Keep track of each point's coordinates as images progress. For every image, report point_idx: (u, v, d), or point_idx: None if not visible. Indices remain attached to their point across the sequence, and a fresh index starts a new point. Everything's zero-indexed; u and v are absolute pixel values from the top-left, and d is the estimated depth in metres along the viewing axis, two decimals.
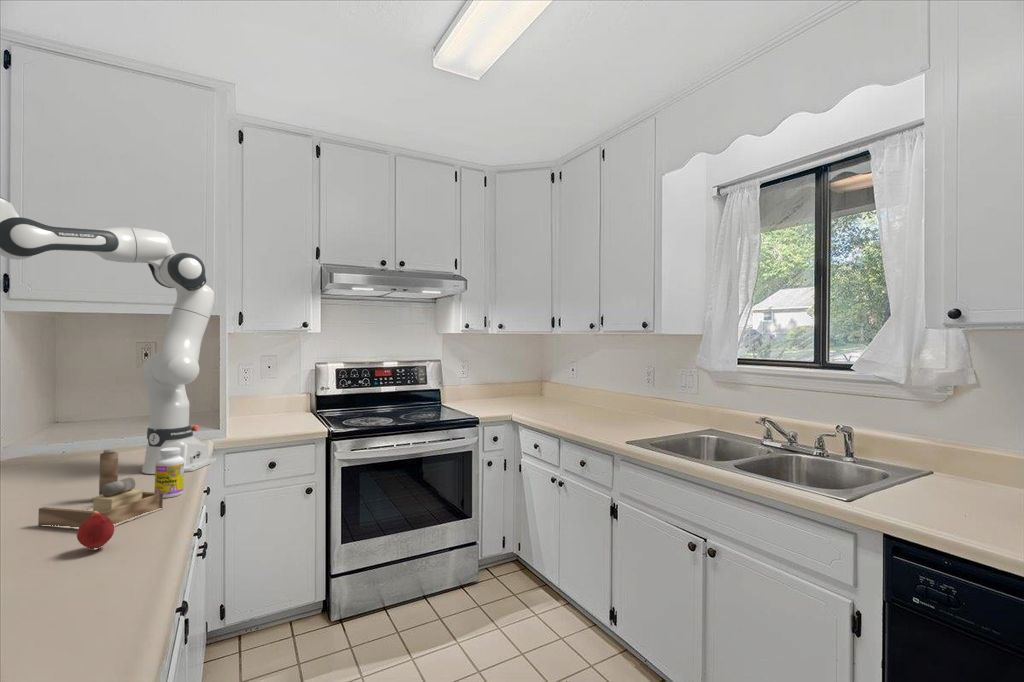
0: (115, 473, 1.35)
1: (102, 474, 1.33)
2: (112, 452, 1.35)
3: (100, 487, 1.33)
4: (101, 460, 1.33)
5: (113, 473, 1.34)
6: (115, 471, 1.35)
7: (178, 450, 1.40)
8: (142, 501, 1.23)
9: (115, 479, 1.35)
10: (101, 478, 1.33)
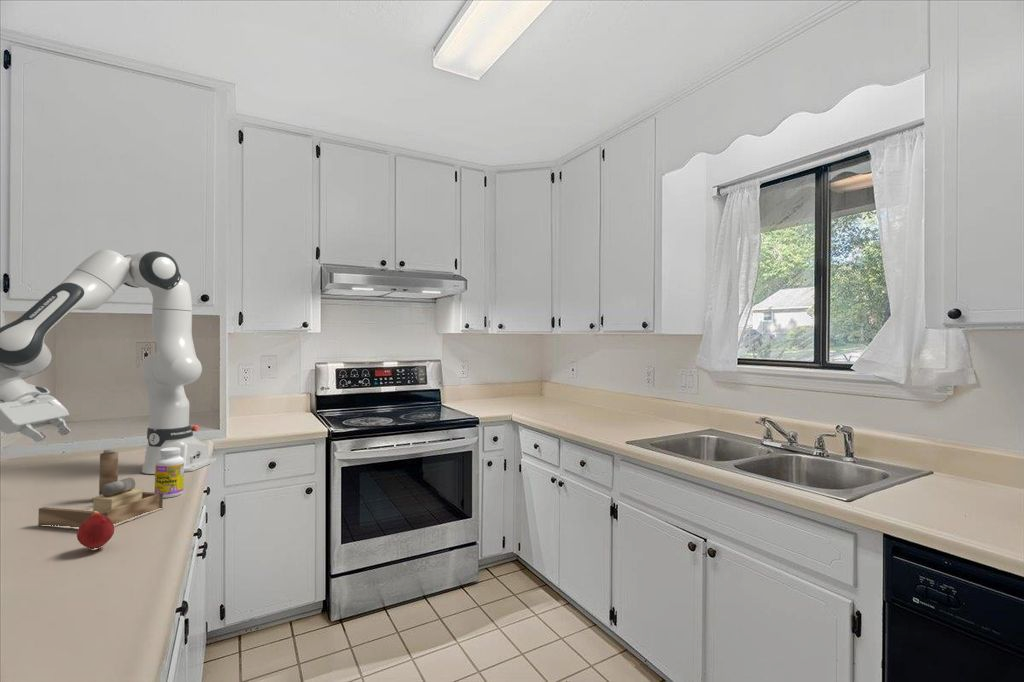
0: (115, 473, 1.35)
1: (102, 474, 1.33)
2: (112, 452, 1.35)
3: (100, 487, 1.33)
4: (101, 460, 1.33)
5: (113, 473, 1.34)
6: (115, 471, 1.35)
7: (178, 450, 1.40)
8: (142, 501, 1.23)
9: (115, 479, 1.35)
10: (101, 478, 1.33)
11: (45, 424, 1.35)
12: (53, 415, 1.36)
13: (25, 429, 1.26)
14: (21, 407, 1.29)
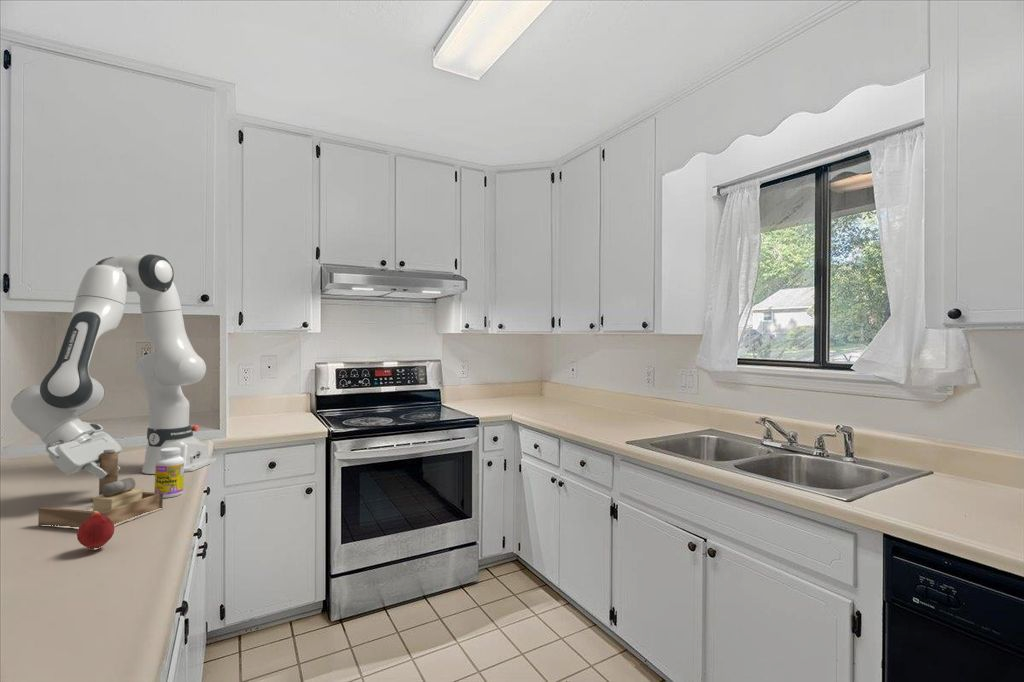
0: (115, 473, 1.35)
1: None
2: (112, 452, 1.35)
3: (100, 487, 1.33)
4: (101, 460, 1.33)
5: (113, 473, 1.34)
6: (115, 471, 1.35)
7: (178, 450, 1.40)
8: (142, 501, 1.23)
9: (115, 479, 1.35)
10: None
11: None
12: None
13: (90, 466, 1.30)
14: (80, 446, 1.31)
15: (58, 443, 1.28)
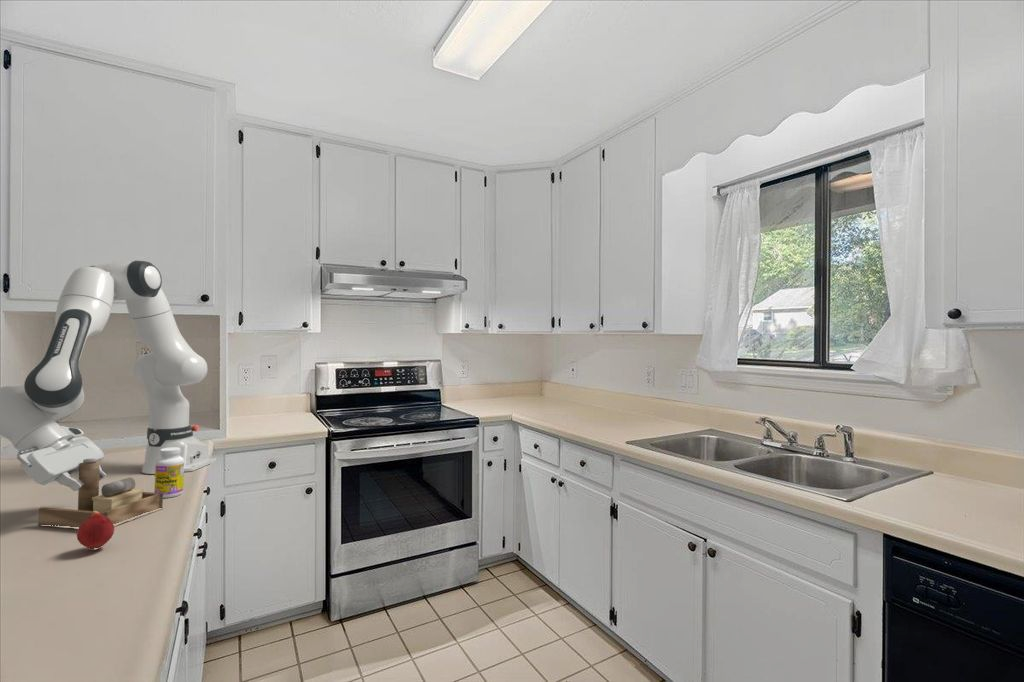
0: (96, 485, 1.23)
1: None
2: (93, 461, 1.22)
3: (79, 500, 1.21)
4: (80, 470, 1.21)
5: (93, 485, 1.22)
6: (96, 483, 1.23)
7: (178, 450, 1.40)
8: (142, 501, 1.23)
9: (96, 491, 1.23)
10: (80, 490, 1.21)
11: None
12: None
13: (62, 478, 1.16)
14: (56, 453, 1.19)
15: (31, 450, 1.15)
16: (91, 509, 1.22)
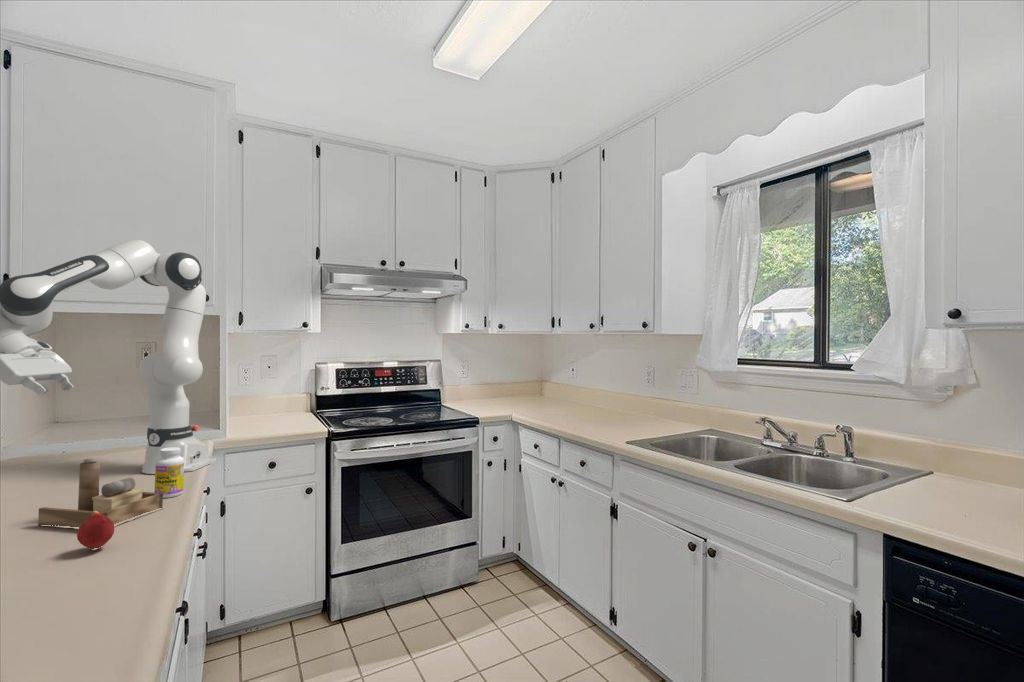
0: (96, 485, 1.23)
1: (82, 486, 1.21)
2: (93, 461, 1.22)
3: (79, 500, 1.21)
4: (81, 470, 1.21)
5: (94, 485, 1.22)
6: (96, 483, 1.23)
7: (178, 450, 1.40)
8: (142, 501, 1.23)
9: (96, 491, 1.23)
10: (80, 490, 1.21)
11: (48, 379, 1.32)
12: (56, 370, 1.33)
13: (27, 381, 1.23)
14: (23, 360, 1.26)
15: None
16: (91, 509, 1.22)
